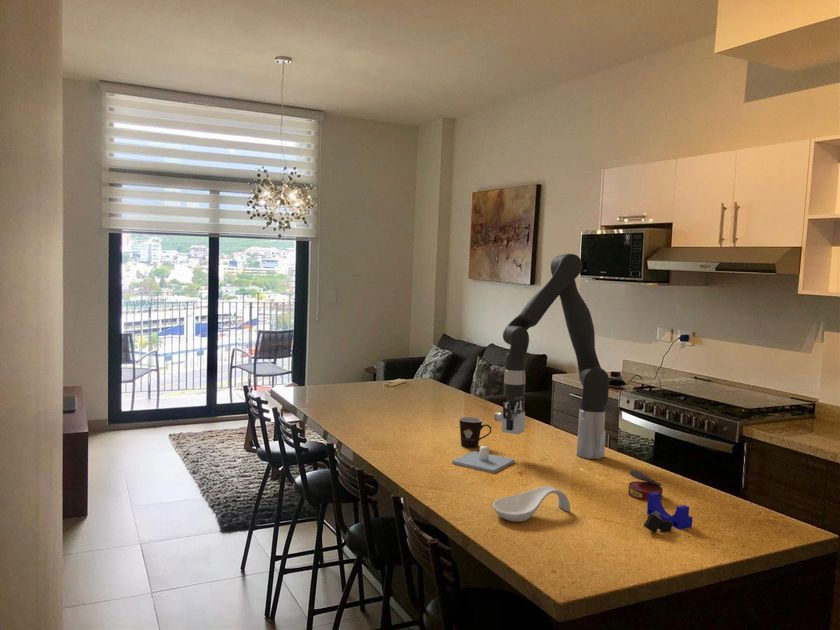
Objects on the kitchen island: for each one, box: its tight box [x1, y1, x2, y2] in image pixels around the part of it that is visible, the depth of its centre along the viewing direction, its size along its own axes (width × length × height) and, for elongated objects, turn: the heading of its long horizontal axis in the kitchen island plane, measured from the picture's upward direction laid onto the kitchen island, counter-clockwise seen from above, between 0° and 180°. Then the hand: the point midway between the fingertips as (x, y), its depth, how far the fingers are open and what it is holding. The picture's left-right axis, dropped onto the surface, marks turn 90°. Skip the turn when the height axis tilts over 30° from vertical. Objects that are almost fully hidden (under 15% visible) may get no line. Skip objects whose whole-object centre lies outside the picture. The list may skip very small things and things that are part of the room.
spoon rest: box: [492, 485, 571, 523], centre depth 184 cm, size 24×12×7 cm, turn 118°
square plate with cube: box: [451, 445, 516, 474], centre depth 231 cm, size 16×16×6 cm
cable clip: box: [646, 492, 693, 530], centre depth 185 cm, size 12×4×6 cm, turn 25°
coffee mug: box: [458, 416, 492, 449], centre depth 251 cm, size 12×9×10 cm
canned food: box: [627, 469, 664, 502], centre depth 204 cm, size 11×10×10 cm
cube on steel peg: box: [493, 410, 526, 435], centre depth 239 cm, size 10×6×7 cm, turn 58°
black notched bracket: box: [642, 511, 673, 534], centre depth 176 cm, size 8×2×5 cm
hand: (513, 428), depth 239 cm, fingers closed on cube on steel peg, 6 cm apart
